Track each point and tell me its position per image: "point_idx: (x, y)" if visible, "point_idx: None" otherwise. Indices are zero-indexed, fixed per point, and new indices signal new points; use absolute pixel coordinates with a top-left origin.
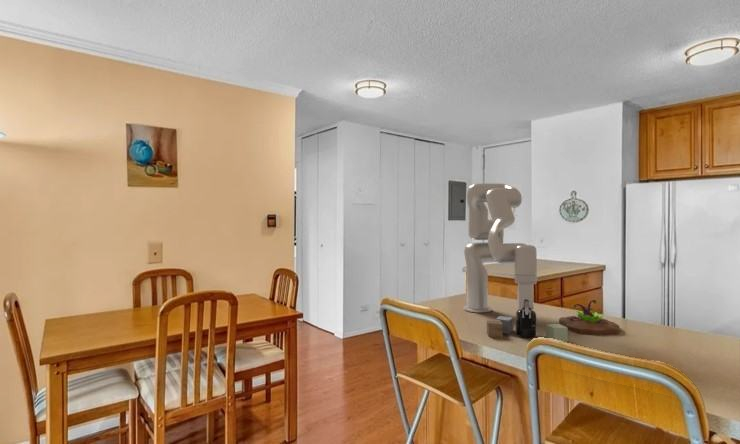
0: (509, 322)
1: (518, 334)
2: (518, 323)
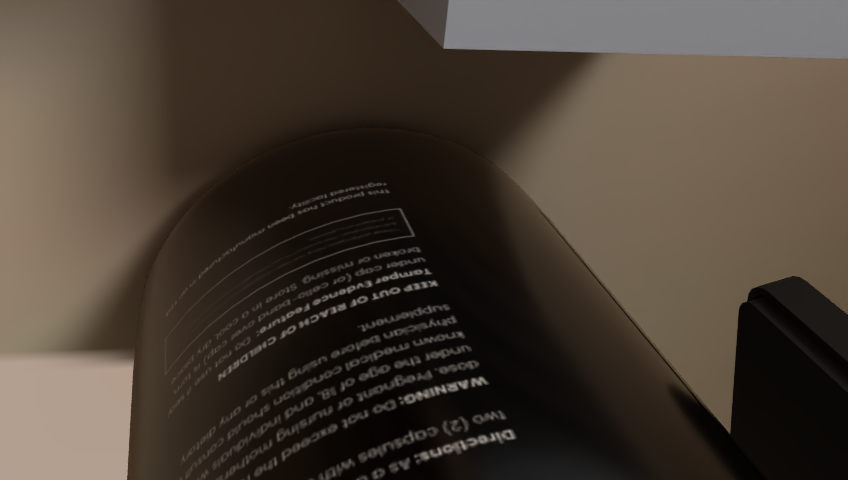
0: (426, 23)
1: (175, 231)
2: (179, 434)
